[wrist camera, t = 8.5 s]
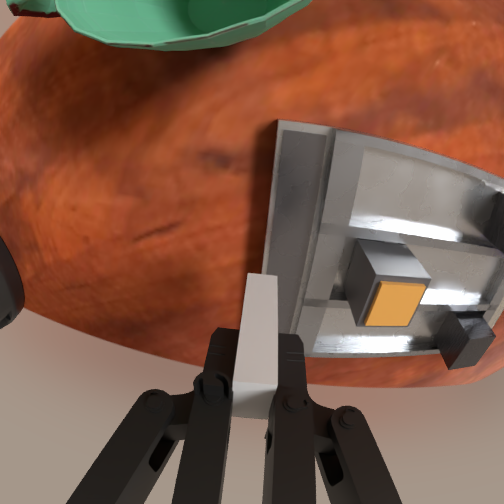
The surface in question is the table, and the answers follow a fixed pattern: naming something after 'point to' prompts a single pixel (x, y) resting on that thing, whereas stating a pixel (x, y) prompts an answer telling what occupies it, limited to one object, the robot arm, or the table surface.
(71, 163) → the table surface
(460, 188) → the panel
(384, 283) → the block
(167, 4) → the mug
